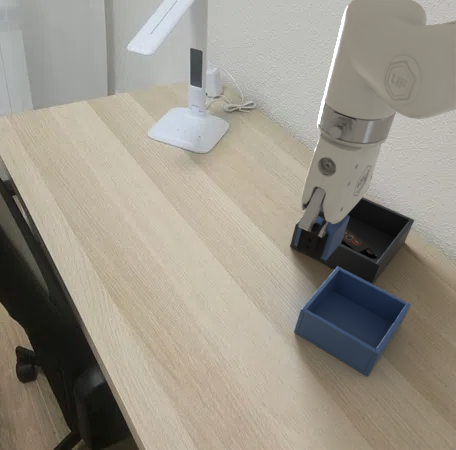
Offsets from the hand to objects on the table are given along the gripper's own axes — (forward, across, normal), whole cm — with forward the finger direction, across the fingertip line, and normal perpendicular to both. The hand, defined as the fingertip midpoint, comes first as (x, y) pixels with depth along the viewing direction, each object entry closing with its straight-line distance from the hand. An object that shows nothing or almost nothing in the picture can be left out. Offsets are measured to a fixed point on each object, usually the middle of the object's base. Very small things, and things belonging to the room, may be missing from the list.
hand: (318, 241), depth 71 cm
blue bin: (+15, +3, -7) cm, 17 cm away
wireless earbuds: (+15, +17, 0) cm, 23 cm away
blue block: (0, 0, 0) cm, 0 cm away
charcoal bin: (+15, +20, +1) cm, 25 cm away
